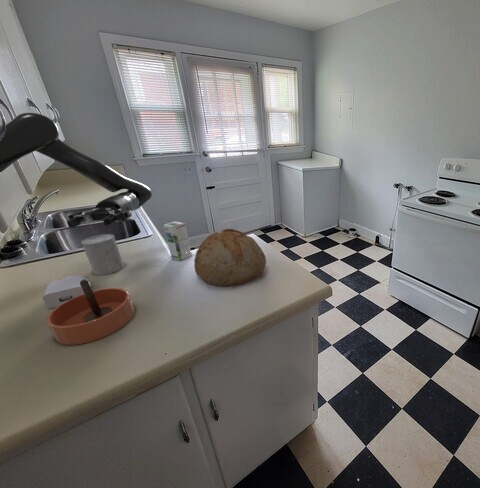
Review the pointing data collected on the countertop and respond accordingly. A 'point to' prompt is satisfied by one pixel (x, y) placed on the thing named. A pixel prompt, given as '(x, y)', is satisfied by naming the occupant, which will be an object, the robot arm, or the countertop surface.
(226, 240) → the bread
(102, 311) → the paper towel holder
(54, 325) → the bowl
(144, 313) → the countertop surface
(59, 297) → the white drawer box
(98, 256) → the white cylinder
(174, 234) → the syrup box
